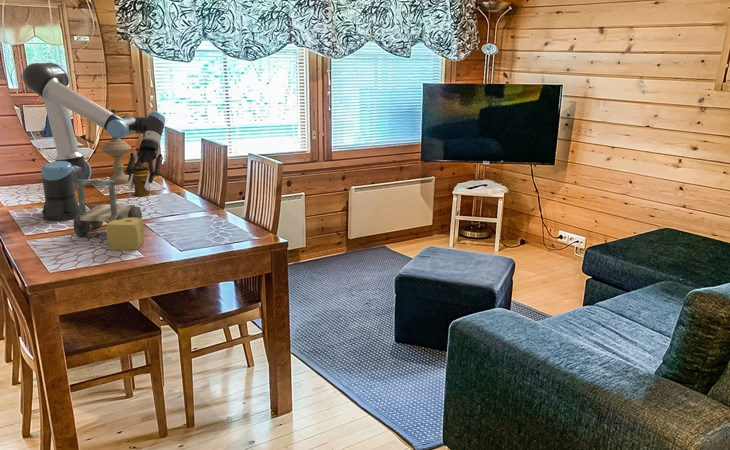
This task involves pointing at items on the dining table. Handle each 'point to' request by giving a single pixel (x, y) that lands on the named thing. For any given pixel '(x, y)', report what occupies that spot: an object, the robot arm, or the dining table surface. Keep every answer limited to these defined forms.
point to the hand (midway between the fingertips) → (138, 188)
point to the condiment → (140, 182)
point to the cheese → (125, 234)
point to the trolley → (100, 209)
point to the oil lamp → (117, 157)
